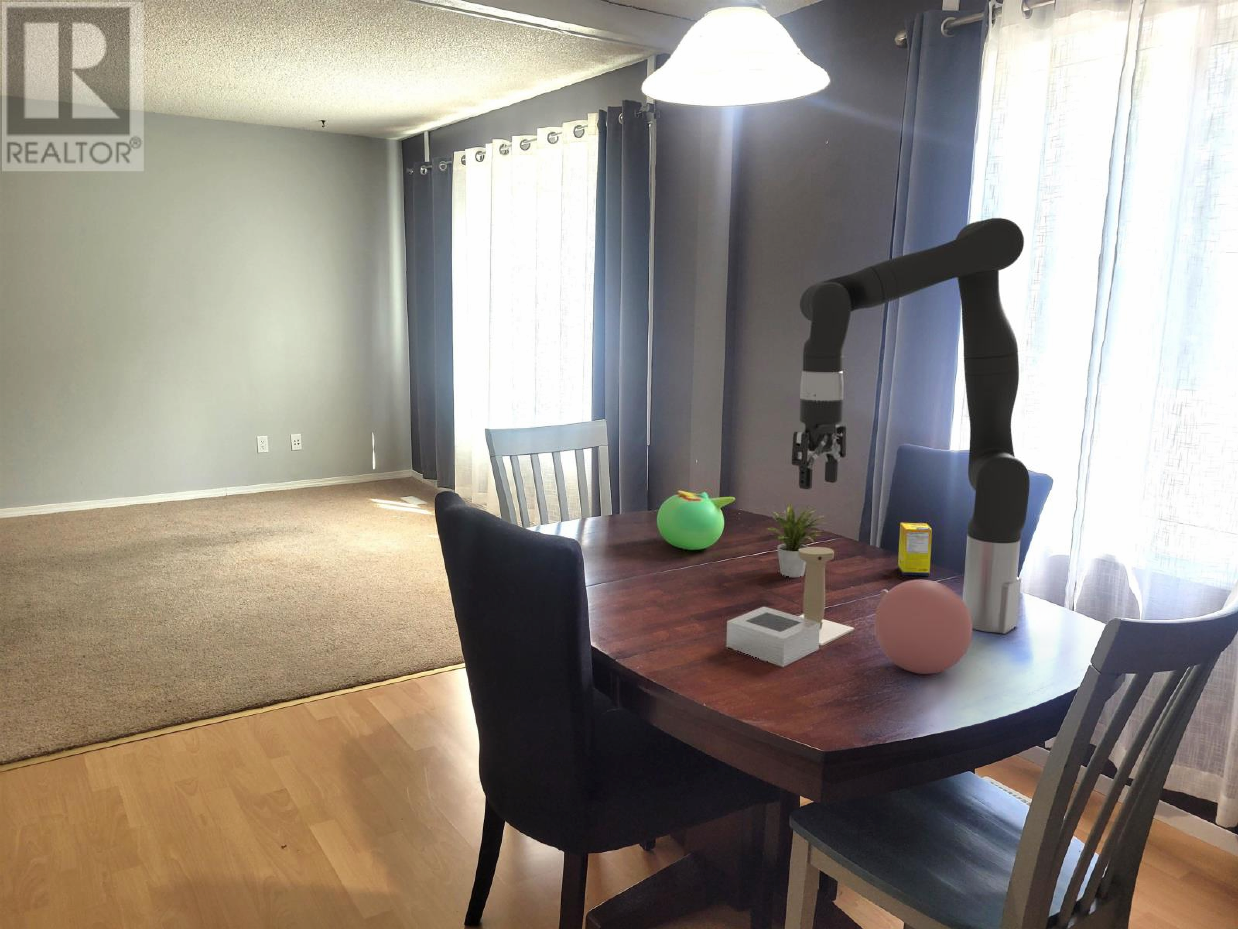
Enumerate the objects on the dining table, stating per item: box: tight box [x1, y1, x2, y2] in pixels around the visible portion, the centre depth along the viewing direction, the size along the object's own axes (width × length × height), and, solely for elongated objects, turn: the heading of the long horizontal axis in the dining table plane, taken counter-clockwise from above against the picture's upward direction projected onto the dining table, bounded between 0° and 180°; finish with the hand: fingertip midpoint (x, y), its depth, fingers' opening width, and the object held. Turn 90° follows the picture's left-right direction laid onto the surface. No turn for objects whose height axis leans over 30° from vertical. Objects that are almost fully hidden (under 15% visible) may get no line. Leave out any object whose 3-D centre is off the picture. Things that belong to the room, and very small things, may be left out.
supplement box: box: [897, 522, 933, 577], centre depth 203 cm, size 6×6×11 cm
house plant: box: [766, 502, 830, 578], centre depth 200 cm, size 14×14×16 cm
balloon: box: [873, 579, 973, 675], centre depth 151 cm, size 15×20×15 cm
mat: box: [798, 613, 855, 646], centre depth 168 cm, size 11×11×1 cm
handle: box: [798, 546, 835, 629], centre depth 166 cm, size 5×6×15 cm
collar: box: [726, 606, 820, 668], centre depth 158 cm, size 12×11×5 cm
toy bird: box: [656, 490, 736, 551], centre depth 223 cm, size 18×17×15 cm
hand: (818, 485), depth 163 cm, fingers open, 8 cm apart
